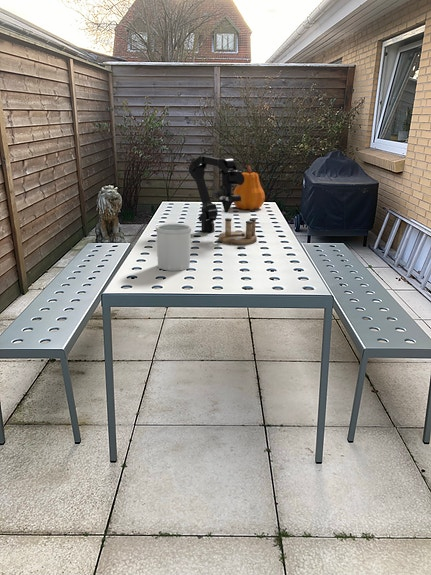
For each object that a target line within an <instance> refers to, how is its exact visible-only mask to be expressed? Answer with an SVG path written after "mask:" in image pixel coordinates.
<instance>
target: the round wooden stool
mask: <svg viewBox="0 0 431 575" xmlns="http://www.w3.org/2000/svg"><path fill="white" fill-rule="evenodd" d="M256 221H257V218H249V219H248V220H246V221H245V231H243V230H242V231H241V230H240V231H237V230H236V231H235V230H231V234H241V233H245V236H225V231H224V232H220V233H219V234H218V241H219V242H220V243H222V244H226V245H233V246H243V245H245V246H246V245H253V244H255V243H256V242H257V241H258V240H257V239H258V238H257V237H258V235H257V234H256V224H257V223H256Z"/></svg>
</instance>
